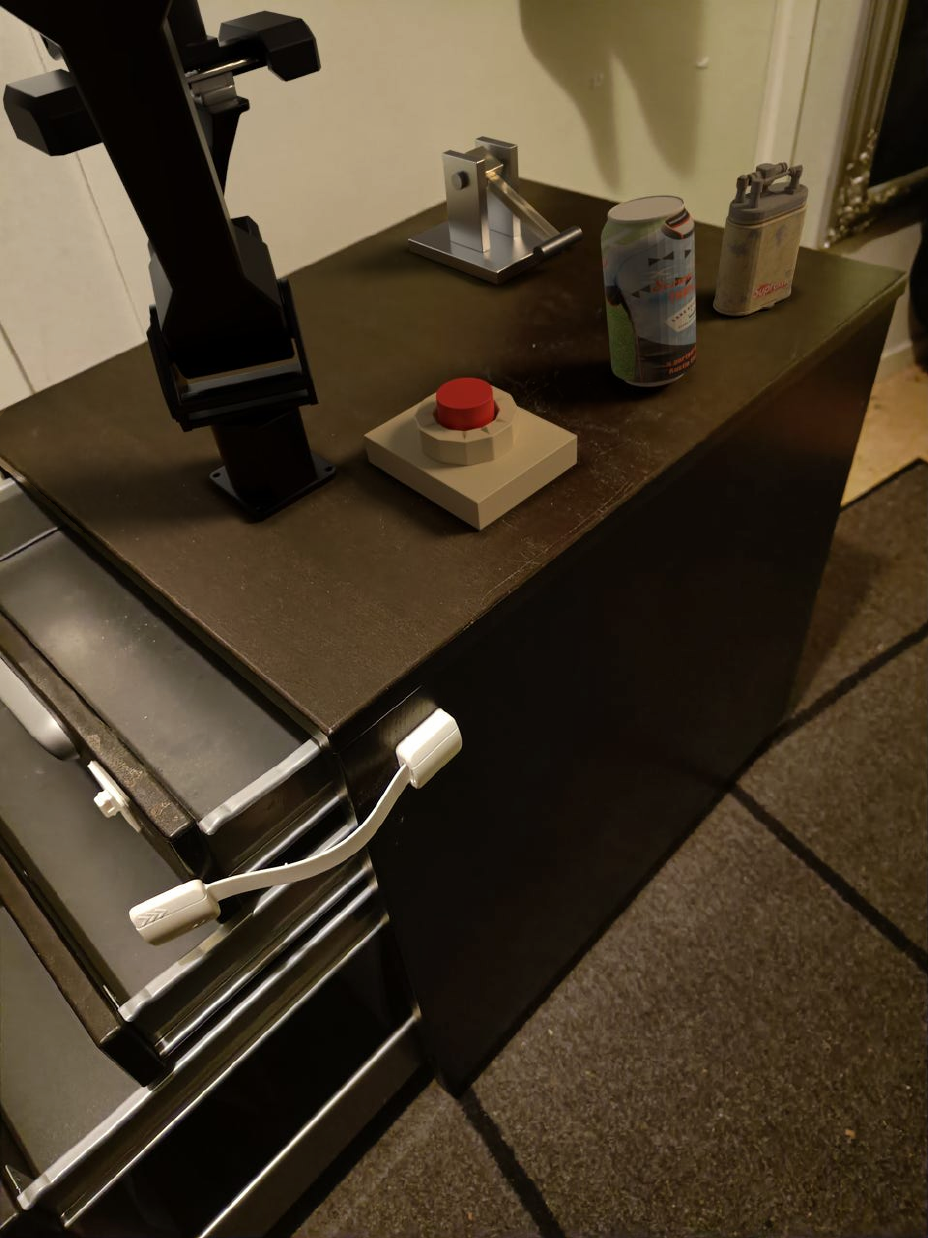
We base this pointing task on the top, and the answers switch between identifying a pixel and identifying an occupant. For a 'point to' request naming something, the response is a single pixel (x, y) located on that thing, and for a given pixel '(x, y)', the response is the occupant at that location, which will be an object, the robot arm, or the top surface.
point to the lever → (525, 210)
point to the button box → (473, 457)
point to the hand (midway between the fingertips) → (212, 222)
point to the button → (465, 404)
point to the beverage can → (650, 289)
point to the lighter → (761, 240)
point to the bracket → (479, 219)
